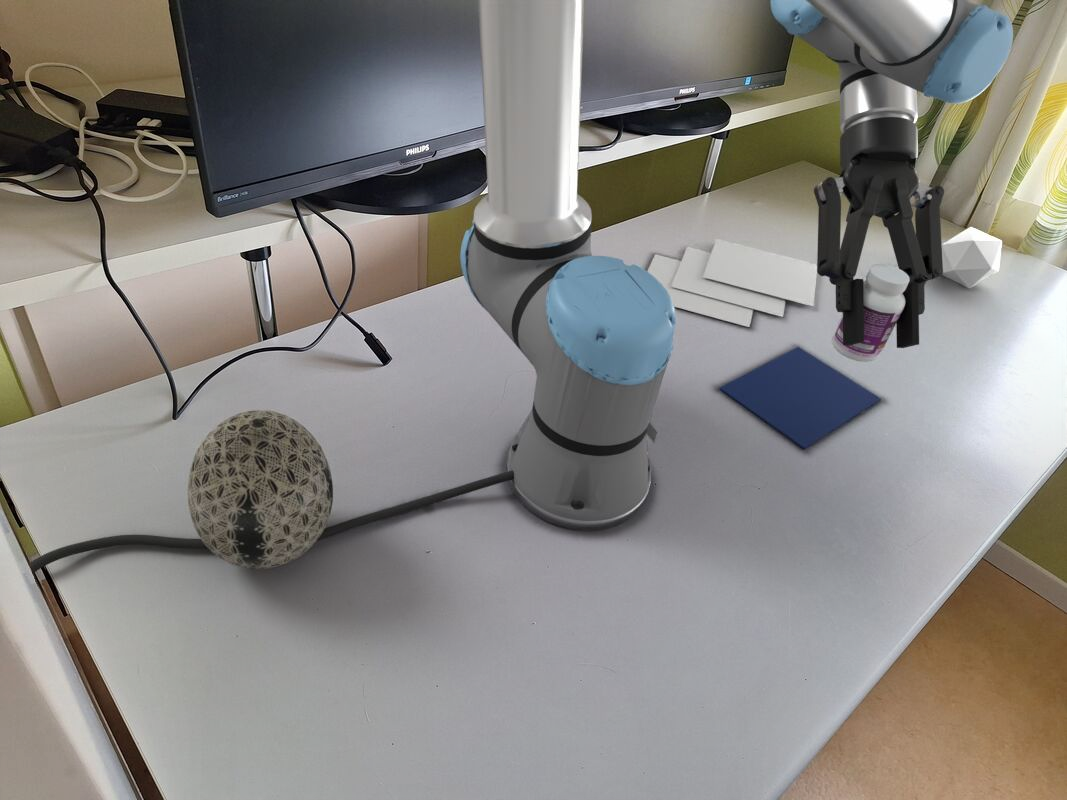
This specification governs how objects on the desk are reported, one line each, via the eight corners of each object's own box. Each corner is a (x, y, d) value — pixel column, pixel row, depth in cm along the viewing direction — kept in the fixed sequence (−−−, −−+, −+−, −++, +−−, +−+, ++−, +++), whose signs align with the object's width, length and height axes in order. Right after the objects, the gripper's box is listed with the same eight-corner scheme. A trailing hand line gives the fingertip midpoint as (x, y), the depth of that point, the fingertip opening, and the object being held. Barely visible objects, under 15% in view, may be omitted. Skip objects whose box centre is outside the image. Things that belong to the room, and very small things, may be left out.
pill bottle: (882, 368, 82) (921, 292, 76) (832, 357, 82) (867, 281, 76) (876, 340, 86) (912, 266, 80) (828, 330, 86) (861, 255, 80)
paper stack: (808, 343, 106) (810, 339, 105) (635, 296, 110) (636, 292, 110) (816, 268, 123) (817, 264, 123) (666, 229, 128) (667, 226, 127)
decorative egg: (220, 496, 74) (193, 374, 64) (344, 499, 75) (336, 381, 65) (186, 598, 65) (149, 475, 55) (327, 599, 66) (315, 479, 57)
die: (995, 289, 127) (997, 228, 126) (1003, 285, 118) (1005, 220, 118) (938, 291, 130) (939, 232, 129) (941, 287, 122) (943, 224, 121)
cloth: (803, 449, 89) (804, 448, 88) (718, 389, 96) (719, 387, 96) (880, 400, 98) (881, 398, 98) (797, 348, 105) (798, 346, 105)
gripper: (934, 150, 86) (938, 353, 84) (780, 137, 84) (780, 346, 82) (981, 120, 79) (987, 343, 77) (813, 105, 76) (815, 335, 74)
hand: (880, 344), depth 79 cm, fingers closed on pill bottle, 5 cm apart
